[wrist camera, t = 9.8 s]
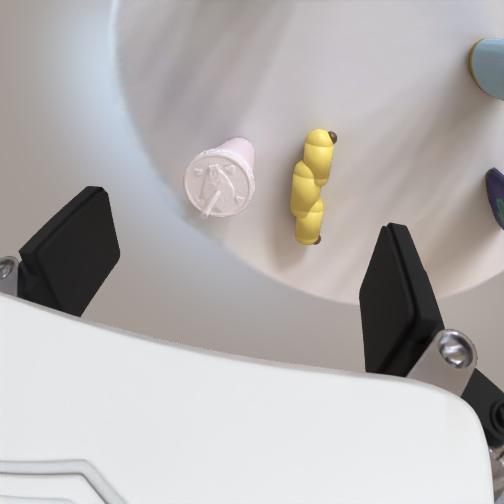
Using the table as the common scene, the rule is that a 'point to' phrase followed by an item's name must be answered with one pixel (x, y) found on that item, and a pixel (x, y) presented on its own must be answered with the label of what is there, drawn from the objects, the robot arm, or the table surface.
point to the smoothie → (221, 179)
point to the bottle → (488, 66)
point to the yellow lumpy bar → (311, 185)
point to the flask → (496, 194)
